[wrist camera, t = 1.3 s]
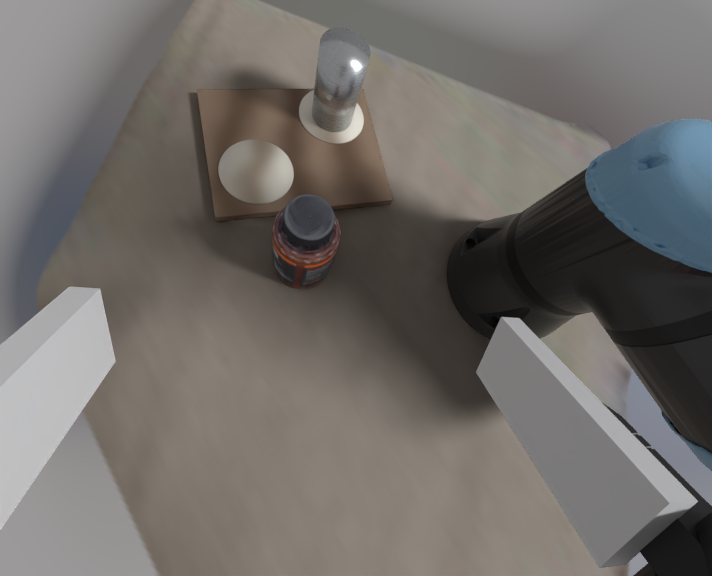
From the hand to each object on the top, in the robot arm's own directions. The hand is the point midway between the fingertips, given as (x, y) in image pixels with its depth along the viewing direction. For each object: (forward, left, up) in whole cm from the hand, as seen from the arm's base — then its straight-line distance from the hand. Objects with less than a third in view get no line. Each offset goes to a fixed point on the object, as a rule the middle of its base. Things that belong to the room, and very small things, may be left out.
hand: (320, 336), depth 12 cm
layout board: (-5, -24, -24) cm, 34 cm away
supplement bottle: (-3, -10, -24) cm, 26 cm away
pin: (-10, -28, -24) cm, 38 cm away
